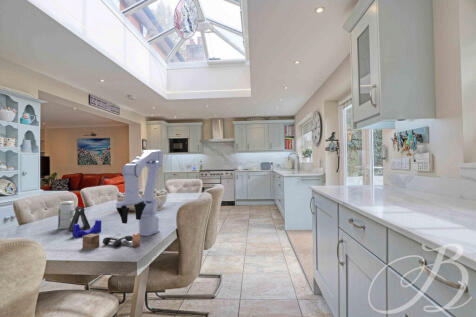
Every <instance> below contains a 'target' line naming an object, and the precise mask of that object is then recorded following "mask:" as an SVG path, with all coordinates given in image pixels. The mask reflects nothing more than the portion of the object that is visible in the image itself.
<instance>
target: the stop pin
mask: <svg viewBox="0 0 476 317" xmlns="http://www.w3.org/2000/svg"><path fill="white" fill-rule="evenodd" d="M135 233H136V234H135ZM135 233H132V237H133V240H132V242H131V241H126V239H123V240H122V244H127V245H131V246H132V248H138V247H141V244H140V243H141V241H140V240H141V239H140V238H141V235H140V234H139V233H138V232H135Z"/></svg>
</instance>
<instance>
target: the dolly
mask: <svg viewBox="0 0 476 317" xmlns="http://www.w3.org/2000/svg"><path fill="white" fill-rule="evenodd" d="M123 240H125V241H131V242H133V235H124V234H121V233H117V234H115V235H112V236H109V237H104V238H103V240H102V244H103V245H105V246H107V245H109V244H110V243H112V244H113V245H114V247H116V248H119V247H121V245H122V244H123Z"/></svg>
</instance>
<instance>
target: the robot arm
mask: <svg viewBox="0 0 476 317" xmlns="http://www.w3.org/2000/svg"><path fill="white" fill-rule="evenodd" d="M163 160H164V152H163V151H162V149H144V150H143V151H142V152H141V156H136V157H135V158H134V159H133V160H131V162H130V163H126V164H124V165H123V166H122V170H121V172H122V177H123V181H124V200H122V201H119V202H116V203H115V204H116V206H115V208H116V211H117V212H118V214H119V216H120V220H121V223H122V224H125V225H127V224H128V215H129V211H130V207H129V206H133V207H134V213H135V220H137V221H138V232H135V233H134V234H136V233H139V234H140V236H144V237H148V236H151V235H153V234H156V233H160V232H161V230H159V226H160V224H159V217H158V215H157V213H158V210H159V206H158V204H159V202H158V200H157V199H156V198H155V189H156V185H157V181H158V174H159V170H160V168H161V167H162V166H163ZM145 167H146V168H148V172H147V178H146V181H145V186H144V192H143V196H141V197H140V195H139V194H140V190H139V189H140V188H139V184H140V176H141V175H142V171H143V170H144V168H145Z"/></svg>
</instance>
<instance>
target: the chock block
mask: <svg viewBox="0 0 476 317" xmlns="http://www.w3.org/2000/svg"><path fill="white" fill-rule="evenodd" d="M99 247H100V234H98V233H93V234H88V235H85V236H83V237H82V248H83V249H87V250H92V249H93V250H94V249H95V248H96V249H97V248H99Z"/></svg>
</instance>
